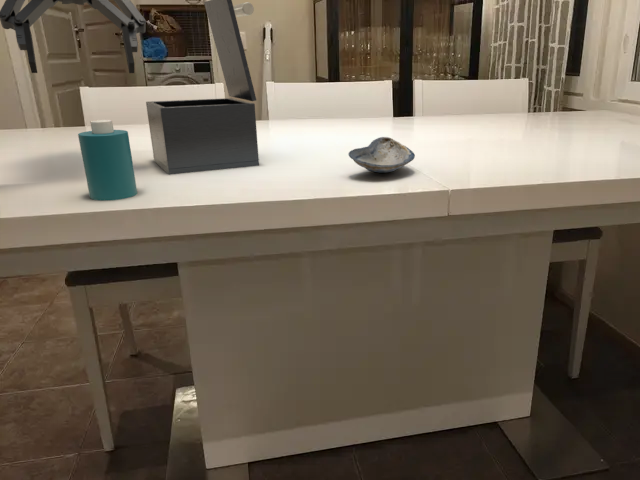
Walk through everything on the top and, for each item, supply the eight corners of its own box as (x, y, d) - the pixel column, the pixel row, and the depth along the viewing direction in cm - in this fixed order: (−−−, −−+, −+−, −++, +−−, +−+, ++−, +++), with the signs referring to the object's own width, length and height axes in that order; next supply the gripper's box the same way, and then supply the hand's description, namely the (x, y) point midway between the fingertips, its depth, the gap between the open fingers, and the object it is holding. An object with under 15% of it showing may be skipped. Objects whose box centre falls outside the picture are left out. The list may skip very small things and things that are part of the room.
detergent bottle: (92, 203, 77) (77, 124, 73) (88, 193, 82) (74, 119, 78) (140, 197, 80) (129, 121, 76) (133, 188, 85) (122, 117, 81)
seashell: (332, 166, 101) (332, 138, 99) (397, 162, 105) (397, 135, 103) (356, 184, 88) (356, 152, 86) (429, 179, 91) (431, 148, 89)
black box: (169, 175, 95) (160, 107, 91) (154, 161, 106) (145, 101, 102) (259, 166, 102) (254, 103, 98) (236, 154, 113) (231, 98, 109)
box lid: (225, -5, 90) (257, -10, 92) (203, 2, 101) (232, -3, 103) (252, 101, 98) (281, 94, 100) (229, 96, 109) (255, 89, 111)
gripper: (146, -28, 97) (167, 81, 94) (-24, -40, 87) (-7, 82, 83) (147, -62, 91) (170, 54, 87) (-36, -79, 80) (-19, 51, 76)
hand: (84, 68), depth 85 cm, fingers open, 13 cm apart
